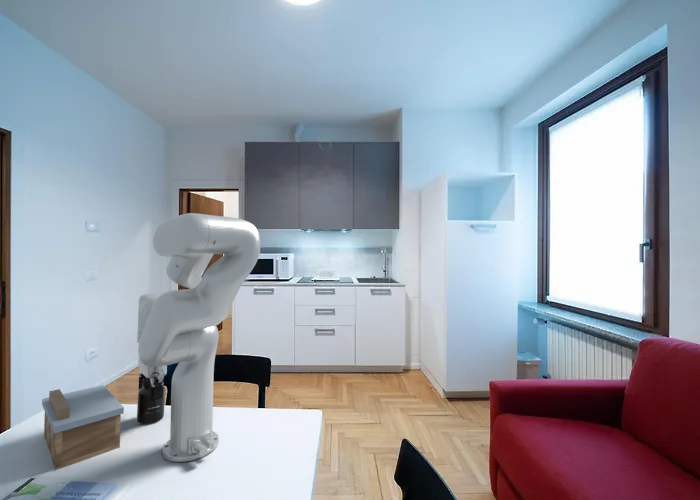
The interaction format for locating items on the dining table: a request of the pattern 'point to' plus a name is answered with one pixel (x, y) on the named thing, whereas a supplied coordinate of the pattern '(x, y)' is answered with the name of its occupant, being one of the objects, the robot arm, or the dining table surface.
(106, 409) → the toolbox lid
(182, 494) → the dining table surface
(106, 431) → the toolbox
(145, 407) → the supplement bottle
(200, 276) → the robot arm
